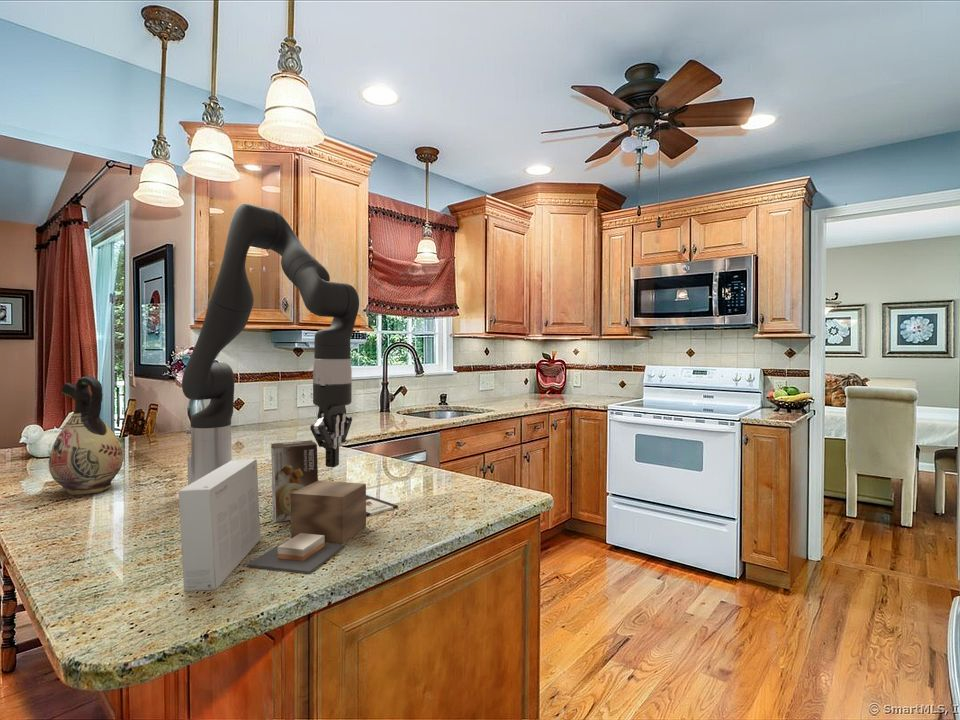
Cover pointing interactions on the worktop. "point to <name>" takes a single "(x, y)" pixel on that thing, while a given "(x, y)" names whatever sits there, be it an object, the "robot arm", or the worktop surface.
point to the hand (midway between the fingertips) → (332, 466)
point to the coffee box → (291, 473)
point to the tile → (301, 546)
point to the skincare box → (218, 523)
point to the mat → (306, 566)
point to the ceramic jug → (85, 444)
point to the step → (329, 510)
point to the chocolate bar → (377, 505)
